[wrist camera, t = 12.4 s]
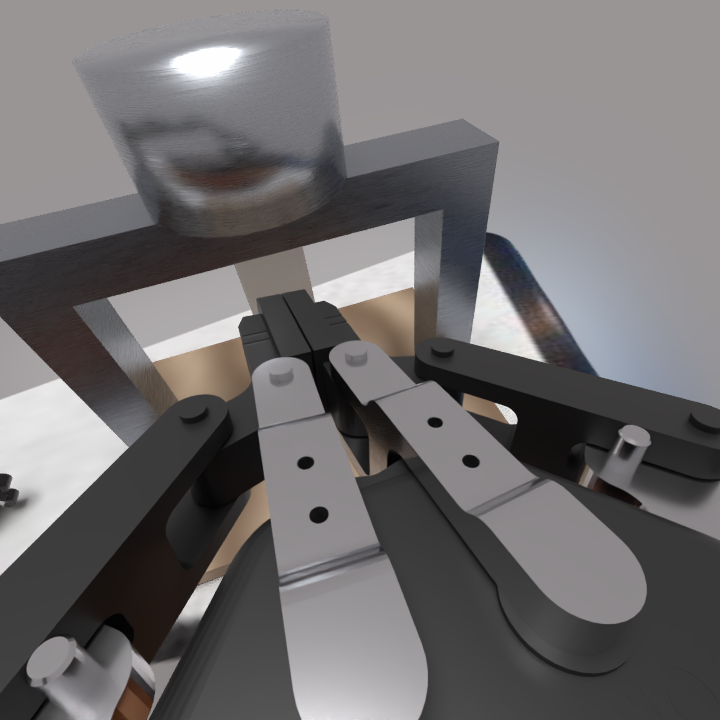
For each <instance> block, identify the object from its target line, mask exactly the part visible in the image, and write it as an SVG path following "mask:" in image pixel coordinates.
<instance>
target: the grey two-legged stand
mask: <svg viewBox="0 0 720 720" xmlns="http://www.w3.org/2000/svg"><path fill="white" fill-rule="evenodd" d="M332 51H333V50H332V42H331V33H330V25H329V19H328V17H327V16H326V15H324V14H322V13H318V12H313V11H305V10H304V11H303V10H271V11H256V12H245V13H236V14H229V15H220V16H213V17H207V18H201V19H195V20H189V21H184V22H179V23H174V24H169V25H165V26H161V27H156V28H151V29H148V30H143V31H140V32H136V33H132V34H129V35H125V36H122V37H119V38H116V39H113V40H110V41H107V42H104V43H101V44H99V45H96V46H94V47H92V48H90V49H88V50H86V51H84V52H82V53H81V54H79V55H78V56H76V57H75V58H74V60H73V65H74V67H75V69H76V71H77V73H78V75H79V77H80V79H81V81H82V83H83V85H84V87H85V88H86V91H87V93H88V94H89V97H90V98H91V101H92V102H93V105H94V106H95V108H96V110H97V112H98V114H99V116H100V118H101V120H102V122H103V124H104V126H105V128H106V130H107V132H108V134H109V136H110V138H111V140H112V142H113V144H114V146H115V148H116V150H117V152H118V154H119V156H120V158H121V160H122V161H123V163H124V166H125V167H126V170H127V172H128V174H129V175H130V178H131V179H132V182H133V184H134V186H135V188H136V189H137V191H138V193H137V194H132V195H127V196H123V197H119V198H114V199H110V200H106V201H101V202H97V203H93V204H88V205H84V206H79V207H75V208H71V209H66V210H62V211H58V212H53V213H49V214H44V215H40V216H36V217H31V218H27V219H23V220H18V221H14V222H9V223H5V224H1V225H0V317H1V318H2V319H3V320H4V321H5V322H6V323H7V324H8V325H9V326H10V327H11V328H12V329H13V330H14V331H15V332H16V333H17V334H18V335H19V336H20V337H21V338H22V339H23V340H24V341H25V342H26V343H27V344H28V345H29V346H30V347H31V348H32V349H33V350H34V351H35V352H36V353H37V354H38V356H39V357H40V358H41V359H42V360H43V361H44V362H45V363H46V364H47V365H48V366H49V367H50V368H51V369H52V370H53V371H54V372H55V373H56V374H57V375H58V376H59V377H60V378H61V379H62V380H63V381H64V382H65V383H66V384H67V385H68V386H69V387H70V388H71V389H72V390H73V391H74V392H75V393H76V394H77V395H78V396H79V397H80V398H81V399H82V400H83V401H84V402H85V403H86V404H87V405H88V406H89V407H90V408H91V409H92V410H93V411H94V412H95V413H96V414H97V415H98V416H99V417H100V418H101V419H102V420H103V421H104V422H105V423H106V425H107V426H108V427H109V428H110V429H111V430H112V431H113V432H114V433H115V434H116V435H117V436H118V437H119V438H120V439H121V440H122V441H123V442H124V443H125V444H126V445H127V446H128V447H130V446H131V445H132V444H133V443H134V442H135V441H136V440H137V439H138V438H139V437H140V436H141V435H142V434H143V433H144V432H145V431H146V430H147V429H148V428H149V427H150V426H151V425H152V424H153V423H154V422H155V421H156V420H157V419H158V418H159V417H160V416H161V415H162V414H163V413H164V412H165V411H166V410H167V409H168V408H170V407H171V406H172V405H173V404H175V403H176V402H178V399H177V398H176V396H175V395H174V393H173V392H172V391H171V389H170V388H169V386H168V385H167V383H166V382H165V381H164V379H163V378H162V376H161V375H160V373H159V372H158V371H157V369H156V368H155V366H154V365H153V363H152V362H151V361H150V359H149V358H148V356H147V355H146V353H145V352H144V351H143V349H142V348H141V346H140V345H139V343H138V342H137V341H136V339H135V338H134V336H133V335H132V333H131V332H130V331H129V329H128V328H127V326H126V325H125V323H124V322H123V321H122V319H121V318H120V316H119V315H118V313H117V312H116V311H115V309H114V308H113V306H112V305H111V303H110V302H109V301H108V299H107V298H108V297H111V296H115V295H119V294H123V293H127V292H130V291H134V290H138V289H142V288H145V287H149V286H153V285H157V284H161V283H165V282H169V281H172V280H176V279H180V278H183V277H188V276H191V275H195V274H199V273H203V272H206V271H210V270H214V269H218V268H222V267H226V266H229V265H233V264H237V263H241V262H245V261H249V260H252V259H256V258H260V257H264V256H268V255H271V254H275V253H279V252H283V251H287V250H291V249H294V248H298V247H302V246H306V245H310V244H313V243H317V242H321V241H324V240H329V239H332V238H336V237H339V236H344V235H348V234H351V233H355V232H359V231H363V230H367V229H371V228H374V227H378V226H382V225H386V224H389V223H393V222H397V221H401V220H405V219H408V218H412V217H415V273H414V351H415V348H416V346H417V345H418V344H419V343H420V342H421V341H423V340H426V339H429V338H435V337H444V338H450V339H454V340H458V341H462V342H466V343H470V338H471V331H472V324H473V318H474V311H475V304H476V297H477V290H478V283H479V277H480V270H481V263H482V256H483V249H484V243H485V236H486V229H487V221H488V215H489V209H490V201H491V195H492V188H493V181H494V174H495V167H496V160H497V154H498V147H499V141H498V140H496V139H494V138H493V137H491V136H490V135H488V134H486V133H485V132H483V131H481V130H480V129H478V128H476V127H475V126H473V125H472V124H470V123H468V122H467V121H465V120H464V119H460V120H455V121H451V122H447V123H442V124H438V125H434V126H429V127H425V128H420V129H416V130H412V131H407V132H403V133H399V134H394V135H390V136H385V137H381V138H377V139H372V140H368V141H364V142H359V143H355V144H350V145H346V146H344V145H343V136H342V127H341V119H340V110H339V102H338V94H337V85H336V76H335V68H334V59H333V52H332Z"/></svg>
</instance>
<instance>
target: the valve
mask: <svg viewBox="0 0 720 720" xmlns="http://www.w3.org/2000/svg"><path fill="white" fill-rule="evenodd" d="M11 481H12V476H11V475H9V474H0V501H4V502H5V505H4V507H11V506H14V505H15V504H16V501H17V498H18V495H19V491H18V490H16V489H11V488H9V487H10V484H11Z"/></svg>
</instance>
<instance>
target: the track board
mask: <svg viewBox="0 0 720 720" xmlns="http://www.w3.org/2000/svg"><path fill="white" fill-rule="evenodd" d="M338 310H339V312H340V313H341V314H342V316H343V317H344V318H345V320H346V321H347V323H348V324H349V325H350V326H351V328H352V329H353V330H354V331H355V333H356V334H357V335H358V337H359V338H360V339H361V341H367V342H371V343H373V344H375V345H377V346H379V347H380V348H381V349H382V350H383V351H384V352H385V353H386V354H387V355H388V356H392V357H399V356H415V351H414V289H413V287H412V288H408V289H405V290H401V291H398V292H394V293H391V294H388V295H384V296H381V297H377V298H374V299H370V300H367V301H363V302H360V303H356V304H353V305H350V306H346V307H343V308H339V309H338ZM153 365H154V366H155V368H156V369H157V371H158V372H159V373H160V375H161V376H162V378H163V379H164V381H165V382H166V383H167V385H168V386H169V388H170V389H171V391H172V392H173V393H174V395H175V396H176V398H177V399H178V401H180V400H182V399H185V398H187V397H190V396H194V395H201V394H210V395H215V396H218V397H220V398H222V399H223V400H224V401H225V402H227V401H229V400H231V399H233V398H235V397H236V396H238V395H240V394H241V393H242V392H244V391H245V390H246V389H247V388H248V386H249V385H250V383H251V377H250V374H249V370H248V367H247V362H246V358H245V354H244V349H243V345H242V341H241V337H239V338H236V339H232V340H229V341H225V342H222V343H218V344H215V345H211V346H208V347H204V348H201V349H198V350H194V351H191V352H187V353H184V354H180V355H177V356H173V357H170V358H166V359H163V360H160V361H156V362H153ZM462 408H464V409H465V410H467V411H470V412H473V413H476V414H479V415H482V416H485V417H488V418H491V419H495V420H498V421H501V422H504V423H507V424H509V423H508V422H507V420H506V419H505V418H504V416H503V415H502V413H501V412H500V410H499V409H498V408H497V406H496V405H495V403H494V402H491V401H488V400H485V399H482V398H478V397H475V396H472V395H469V394H466V393H465V394H464V400H463V407H462ZM334 423H335V422H334ZM347 458H348V457H347ZM348 461H349V463H350V466H351V469H352V472H353V474H354V477H359V475H358V473H357V472H356V470H355V469H354V467H353V465H352V464H351V462H350V460H349V459H348ZM269 518H270V512H269V505H268V498H267V491H266V484H265V480H264V481H262V482H261V483H259V484H257V485H256V486H254V487H253V488H251V495H250V499H249V501H248V503H247V504H246V506H245V508H244V509H243V511H242V512H241V514H240V516H239V517H238V519H237V521H236V522H235V524H234V526H233V527H232V529H231V531H230V532H229V534H228V536H227V537H226V539H225V541H224V542H223V544H222V546H221V547H220V549H219V550H218V552H217V554H216V555H215V557H214V559H213V560H212V562H211V564H210V565H209V567H208V569H207V570H206V572H205V574H204V575H203V577H202V579H201V580H200V582H199V583H198V585H199V584H202V583H205V582H207V581H210V580H213V579H215V578H218V577H221V576H223V575H225V573H226V571H227V569H228V567H229V566H230V564H231V562H232V560H233V558H234V557H235V555H236V554H237V552H238V551H239V549H240V548H241V546H242V545H243V544H244V543H245V541H246V540H247V539H248V538H249V537H250V536H251V534H252V533H253V532H254V531H255V530H256V529H257V528H259V527H260V526H261V525H262V524H263V523H264V522H266V521H267V520H268V519H269Z"/></svg>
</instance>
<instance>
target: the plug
mask: <svg viewBox="0 0 720 720" xmlns="http://www.w3.org/2000/svg"><path fill="white" fill-rule="evenodd" d="M234 265H235V268H236V271H237V273H238V276H239V278H240V281H241V283H242V286H243V289H244V292H245V294H246V297H247V299H248V302H249V305H250V307H251V310H252V313H253V315H256V314H259V313H258V308H257V302H256V298H260V297H266V296H271V295H276V294H282V293H286V292H292V291H297V290H302V289H305V290H306V291H307V293H308V294H309V296H310V297H311V299H312V300H313V302H314V303H315V300H314V296H313V291H312V287H311V282H310V278H309V273H308V269H307V264H306V260H305V256H304V251H303V247H298V248H294V249H291V250H287V251H283V252H279V253H275V254H271V255H268V256H264V257H260V258H256V259H252V260H249V261H245V262H241V263H237V264H234Z"/></svg>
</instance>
